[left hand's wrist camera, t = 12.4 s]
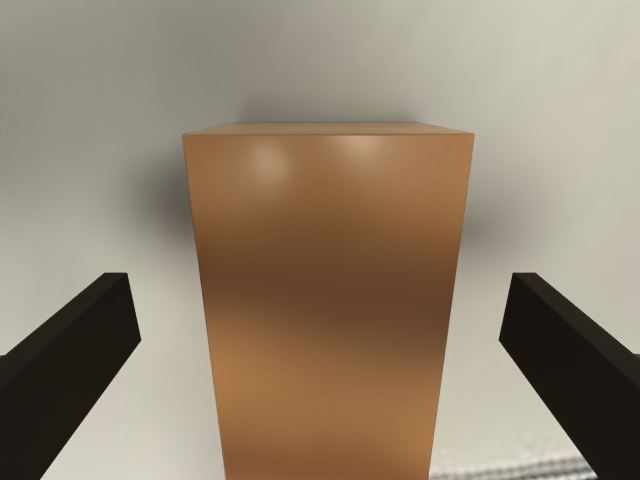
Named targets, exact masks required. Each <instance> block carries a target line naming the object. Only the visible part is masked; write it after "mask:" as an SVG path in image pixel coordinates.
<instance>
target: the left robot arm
mask: <svg viewBox="0 0 640 480" xmlns="http://www.w3.org/2000/svg"><path fill="white" fill-rule="evenodd" d="M140 341H141V336H140V331H139V327H138V322H137V317H136V312H135V308H134V303H133V298H132V293H131V289H130V284H129V279H128V274H127V273H104V274H102V275H101V276H100V277H99V278H98V279H96V280H95V281H94V282H93V283H92V284H90V285H89V286H88V287H87V288H85V289H84V290H83V291H82V292H81V293H79V294H78V295H77V296H76V297H75V298H73V299H72V300H71V301H70V302H69V303H67V304H66V305H65V306H64V307H63V308H61V309H60V310H59V311H58V312H56V313H55V314H54V315H53V316H52V317H50V318H49V319H48V320H47V321H46V322H44V323H43V324H42V325H41V326H40V327H38V328H37V329H36V330H35V331H34V332H32V333H31V334H30V335H29V336H27V337H26V338H25V339H24V340H23V341H21V342H20V343H19V344H18V345H17V346H15V347H14V348H13V349H12V350H11V351H9V352H8V353H7V354H6V355H1V356H0V480H40V479H41V477H42V476H43V475H44V473H45V472H46V471H47V469H48V468H49V466H50V465H51V464H52V462H53V461H54V460H55V458H56V457H57V455H58V454H59V453H60V451H61V450H62V449H63V447H64V446H65V444H66V443H67V442H68V440H69V439H70V438H71V436H72V435H73V433H74V432H75V431H76V429H77V428H78V427H79V425H80V424H81V422H82V421H83V420H84V418H85V417H86V416H87V414H88V413H89V411H90V410H91V409H92V407H93V406H94V405H95V403H96V402H97V400H98V399H99V398H100V396H101V395H102V394H103V392H104V391H105V389H106V388H107V387H108V385H109V384H110V383H111V381H112V380H113V378H114V377H115V376H116V374H117V373H118V372H119V370H120V369H121V367H122V366H123V365H124V363H125V362H126V361H127V359H128V358H129V356H130V355H131V354H132V352H133V351H134V350H135V348H136V347H137V345H138V344H139V343H140ZM499 341H500V343H501V344H502V345H503V347H504V348H505V350H506V351H507V352H508V354H509V355H510V356H511V358H512V359H513V361H514V362H515V363H516V365H517V366H518V367H519V369H520V370H521V372H522V373H523V374H524V376H525V377H526V378H527V380H528V381H529V383H530V384H531V385H532V387H533V388H534V389H535V391H536V392H537V394H538V395H539V396H540V398H541V399H542V400H543V402H544V403H545V405H546V406H547V407H548V409H549V410H550V411H551V413H552V414H553V416H554V417H555V418H556V420H557V421H558V422H559V424H560V425H561V427H562V428H563V429H564V431H565V432H566V433H567V435H568V436H569V438H570V439H571V440H572V442H573V443H574V444H575V446H576V447H577V449H578V450H579V451H580V453H581V454H582V455H583V457H584V458H585V460H586V461H587V462H588V464H589V465H590V466H591V468H592V469H593V471H594V472H595V473H596V475H597V476H598V477H599V479H600V480H640V354H633V353H632V352H631V351H629V350H628V349H627V348H626V347H625V346H623V345H622V344H621V343H620V342H619V341H617V340H616V339H615V338H614V337H613V336H611V335H610V334H609V333H608V332H606V331H605V330H604V329H603V328H602V327H600V326H599V325H598V324H597V323H596V322H594V321H593V320H592V319H591V318H590V317H588V316H587V315H586V314H585V313H584V312H582V311H581V310H580V309H579V308H577V307H576V306H575V305H574V304H573V303H571V302H570V301H569V300H568V299H567V298H565V297H564V296H563V295H562V294H561V293H559V292H558V291H557V290H556V289H555V288H553V287H552V286H551V285H550V284H548V283H547V282H546V281H545V280H544V279H542V278H541V277H540V276H539V275H538V274H536V273H513V274H512V279H511V284H510V289H509V293H508V298H507V303H506V308H505V312H504V317H503V322H502V327H501V331H500V336H499Z"/></svg>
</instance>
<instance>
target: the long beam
mask: <svg viewBox="0 0 640 480" xmlns="http://www.w3.org/2000/svg"><path fill="white" fill-rule="evenodd" d="M182 138H183V146H184V154H185V162H186V170H187V178H188V186H189V194H190V202H191V209H192V217H193V225H194V233H195V241H196V249H197V257H198V265H199V273H200V280H201V288H202V296H203V304H204V312H205V320H206V328H207V336H208V343H209V351H210V359H211V367H212V375H213V383H214V391H215V399H216V407H217V414H218V422H219V430H220V438H221V446H222V454H223V462H224V470H225V478H226V480H428V475H429V467H430V460H431V453H432V445H433V438H434V431H435V423H436V416H437V408H438V401H439V394H440V386H441V379H442V371H443V364H444V357H445V349H446V342H447V335H448V327H449V320H450V312H451V305H452V298H453V290H454V283H455V275H456V268H457V261H458V253H459V246H460V239H461V231H462V224H463V216H464V209H465V202H466V194H467V187H468V179H469V172H470V165H471V157H472V150H473V142H474V134H473V133H468V132H464V131H459V130H454V129H449V128H444V127H439V126H434V125H429V124H424V123H419V122H289V123H232V124H228V125H223V126H219V127H214V128H209V129H205V130H200V131H196V132H191V133H187V134H183V135H182Z"/></svg>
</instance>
